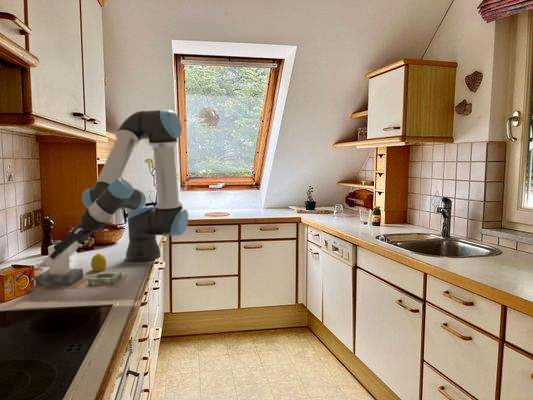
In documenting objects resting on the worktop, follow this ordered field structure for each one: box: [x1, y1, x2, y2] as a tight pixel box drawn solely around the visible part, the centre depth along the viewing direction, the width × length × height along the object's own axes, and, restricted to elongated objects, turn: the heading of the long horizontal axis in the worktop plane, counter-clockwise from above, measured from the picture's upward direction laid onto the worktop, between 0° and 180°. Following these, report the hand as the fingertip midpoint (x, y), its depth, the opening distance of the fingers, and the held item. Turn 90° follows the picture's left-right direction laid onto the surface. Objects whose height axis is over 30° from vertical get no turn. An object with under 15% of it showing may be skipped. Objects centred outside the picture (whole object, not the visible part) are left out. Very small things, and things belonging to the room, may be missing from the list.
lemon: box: [90, 252, 107, 272], centre depth 164 cm, size 6×6×8 cm
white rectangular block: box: [47, 240, 71, 275], centre depth 148 cm, size 5×4×14 cm
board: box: [27, 267, 133, 294], centre depth 148 cm, size 30×16×5 cm, turn 90°
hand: (56, 259), depth 147 cm, fingers open, 13 cm apart
